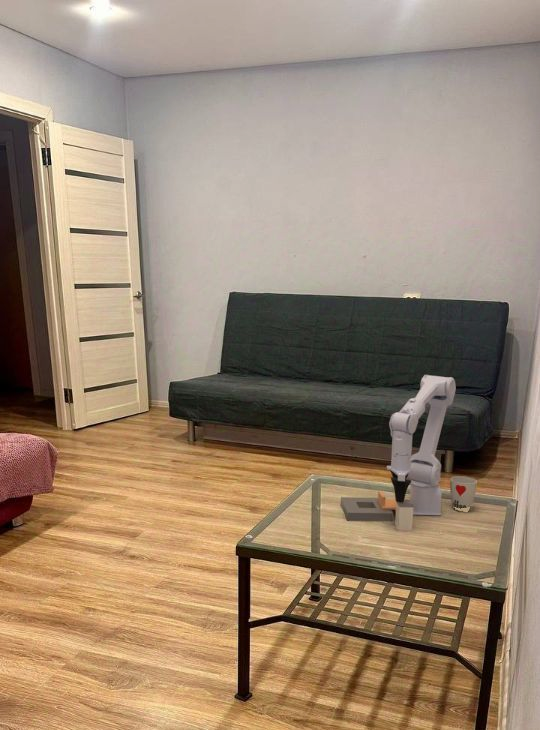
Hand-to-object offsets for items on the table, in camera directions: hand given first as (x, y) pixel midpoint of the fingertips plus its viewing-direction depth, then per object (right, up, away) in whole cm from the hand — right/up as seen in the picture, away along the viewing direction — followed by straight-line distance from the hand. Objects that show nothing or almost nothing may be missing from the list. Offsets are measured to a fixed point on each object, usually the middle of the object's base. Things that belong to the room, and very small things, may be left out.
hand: (399, 497), depth 177 cm
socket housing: (-8, -7, +11) cm, 15 cm away
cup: (+24, -8, +15) cm, 29 cm away
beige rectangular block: (+1, -9, -1) cm, 9 cm away
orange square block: (0, -5, +11) cm, 11 cm away
